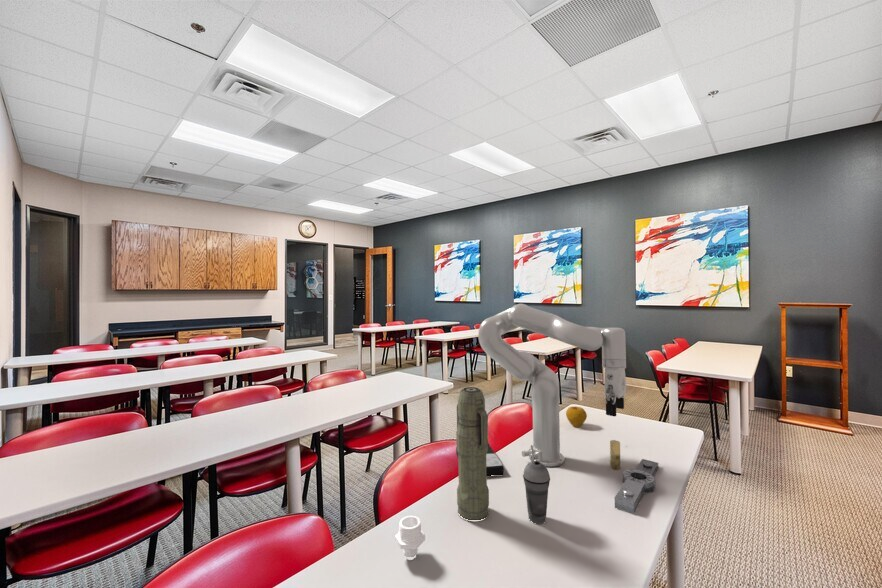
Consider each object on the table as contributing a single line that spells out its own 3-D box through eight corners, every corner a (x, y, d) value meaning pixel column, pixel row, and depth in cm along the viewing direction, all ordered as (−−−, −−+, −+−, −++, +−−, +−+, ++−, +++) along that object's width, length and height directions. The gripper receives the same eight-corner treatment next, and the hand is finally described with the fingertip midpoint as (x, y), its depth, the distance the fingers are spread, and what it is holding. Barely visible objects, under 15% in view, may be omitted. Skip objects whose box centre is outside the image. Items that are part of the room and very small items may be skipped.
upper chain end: (641, 517, 100) (641, 503, 100) (607, 505, 105) (607, 492, 105) (656, 484, 116) (656, 472, 116) (627, 475, 122) (627, 464, 122)
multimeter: (488, 452, 143) (488, 439, 143) (504, 476, 124) (503, 462, 124) (456, 454, 141) (455, 441, 141) (466, 480, 122) (466, 465, 122)
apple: (585, 423, 171) (585, 404, 171) (588, 430, 162) (588, 410, 162) (565, 421, 173) (565, 402, 173) (567, 428, 164) (567, 408, 164)
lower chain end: (651, 496, 110) (651, 488, 110) (620, 486, 115) (620, 479, 115) (664, 468, 126) (664, 462, 126) (636, 461, 132) (636, 455, 132)
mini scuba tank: (546, 531, 95) (545, 454, 95) (519, 522, 99) (518, 448, 98) (554, 516, 101) (553, 444, 101) (528, 508, 105) (527, 438, 105)
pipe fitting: (390, 560, 85) (389, 526, 85) (408, 542, 91) (408, 510, 91) (412, 570, 82) (411, 535, 82) (430, 551, 88) (429, 518, 88)
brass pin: (615, 470, 126) (615, 444, 126) (608, 466, 129) (608, 440, 129) (622, 468, 127) (622, 443, 127) (615, 464, 130) (615, 439, 130)
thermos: (478, 529, 96) (476, 396, 96) (447, 509, 105) (445, 388, 104) (499, 515, 102) (497, 390, 101) (469, 497, 110) (467, 382, 110)
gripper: (618, 368, 119) (620, 421, 119) (631, 360, 132) (633, 407, 132) (595, 366, 124) (596, 416, 124) (609, 358, 137) (611, 403, 137)
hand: (615, 411), depth 128 cm, fingers open, 9 cm apart
